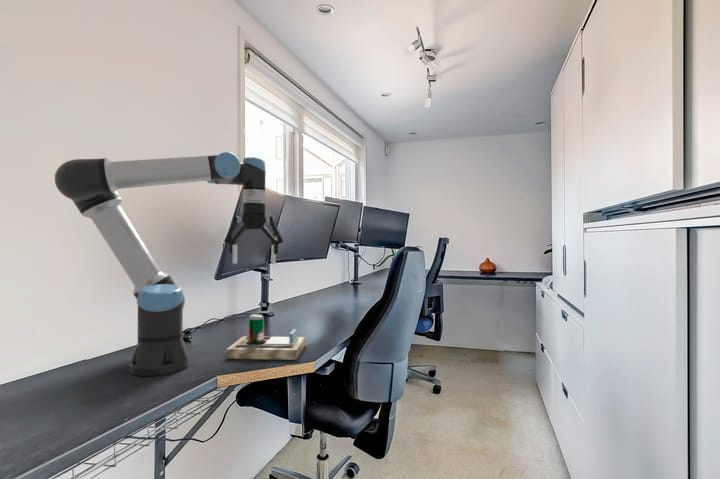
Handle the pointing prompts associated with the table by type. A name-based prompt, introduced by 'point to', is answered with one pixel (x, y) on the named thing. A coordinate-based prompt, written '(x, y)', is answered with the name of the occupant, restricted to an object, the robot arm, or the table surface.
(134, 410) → the table surface
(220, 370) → the table surface
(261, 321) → the soda can
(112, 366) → the table surface
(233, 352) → the socket board
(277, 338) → the shutter
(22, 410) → the table surface
